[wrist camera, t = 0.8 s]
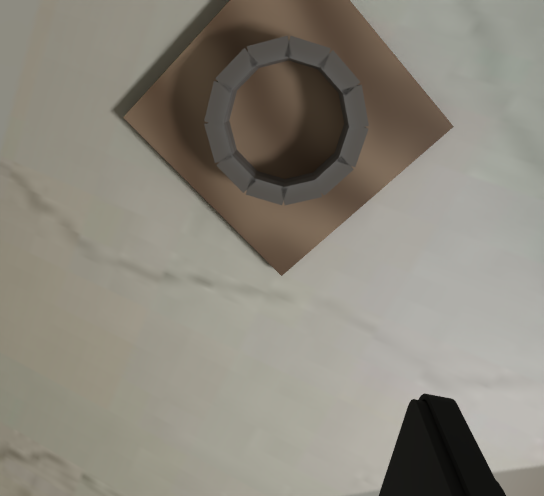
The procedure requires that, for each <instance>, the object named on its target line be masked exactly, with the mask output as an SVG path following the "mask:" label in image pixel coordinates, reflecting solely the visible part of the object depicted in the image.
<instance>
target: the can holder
mask: <svg viewBox="0 0 544 496" xmlns="http://www.w3.org/2000/svg"><path fill="white" fill-rule="evenodd" d="M123 118H124V119H125V120H126V121H127V122H128V123H129V124H130V125H131V126H132V127H133V128H134V129H135V130H136V131H137V132H138V133H139V134H140V135H141V136H142V137H143V138H144V139H145V140H146V141H147V142H148V143H149V144H150V145H151V146H152V147H153V148H154V149H155V150H156V151H157V152H158V153H159V154H160V155H161V156H162V157H163V158H164V159H165V160H166V161H167V162H168V163H169V164H170V165H171V166H172V167H173V168H174V169H175V170H176V171H177V172H178V173H179V174H180V175H181V176H182V177H183V178H184V179H185V180H186V181H187V182H188V183H189V184H190V185H191V186H192V187H193V188H194V189H195V190H196V191H197V192H198V193H199V194H200V195H201V196H202V197H203V198H204V199H205V200H206V201H207V202H208V203H209V204H210V205H211V206H212V207H213V208H214V209H215V210H216V211H217V212H218V213H219V214H220V215H221V216H222V217H223V218H224V219H225V220H226V221H227V222H228V223H229V224H230V225H231V226H232V227H233V228H234V229H235V230H236V231H237V232H238V233H239V234H240V235H241V236H242V237H243V238H244V239H245V240H246V241H247V242H248V243H249V244H250V245H251V246H252V247H253V248H254V249H255V250H256V251H257V252H258V253H259V254H260V255H261V256H262V257H263V258H264V259H265V260H266V261H267V262H268V263H269V264H270V265H271V266H272V267H273V268H274V269H275V270H276V271H277V272H278V273H279V274H280V275H281V276H282V275H283V274H284V273H286V272H287V271H288V270H289V269H290V268H291V267H292V266H294V265H295V264H296V263H297V262H298V261H299V260H300V259H302V258H303V257H304V256H305V255H306V254H307V253H309V252H310V251H311V250H312V249H313V248H314V247H315V246H317V245H318V244H319V243H320V242H321V241H322V240H324V239H325V238H326V237H327V236H328V235H329V234H330V233H332V232H333V231H334V230H335V229H336V228H337V227H338V226H340V225H341V224H342V223H343V222H344V221H345V220H347V219H348V218H349V217H350V216H351V215H352V214H353V213H355V212H356V211H357V210H358V209H359V208H360V207H362V206H363V205H364V204H365V203H366V202H367V201H368V200H370V199H371V198H372V197H373V196H374V195H375V194H376V193H378V192H379V191H380V190H381V189H382V188H383V187H385V186H386V185H387V184H388V183H389V182H390V181H391V180H393V179H394V178H395V177H396V176H397V175H398V174H400V173H401V172H402V171H403V170H404V169H405V168H406V167H408V166H409V165H410V164H411V163H412V162H413V161H415V160H416V159H417V158H418V157H419V156H420V155H421V154H423V153H424V152H425V151H426V150H427V149H428V148H429V147H431V146H432V145H433V144H434V143H435V142H436V141H438V140H439V139H440V138H441V137H442V136H443V135H444V134H446V133H447V132H448V131H449V130H450V129H451V128H453V125H452V124H451V123H450V122H449V120H448V119H447V118H446V117H445V116H444V114H443V113H442V112H441V111H440V110H439V108H438V107H437V106H436V105H435V103H434V102H433V101H432V100H431V99H430V97H429V96H428V95H427V94H426V92H425V91H424V90H423V89H422V88H421V86H420V85H419V84H418V83H417V82H416V80H415V79H414V78H413V77H412V75H411V74H410V73H409V72H408V71H407V69H406V68H405V67H404V66H403V65H402V63H401V62H400V61H399V60H398V58H397V57H396V56H395V55H394V54H393V52H392V51H391V50H390V49H389V48H388V46H387V45H386V44H385V43H384V41H383V40H382V39H381V38H380V37H379V35H378V34H377V33H376V32H375V30H374V29H373V28H372V27H371V26H370V24H369V23H368V22H367V21H366V20H365V18H364V17H363V16H362V15H361V13H360V12H359V11H358V10H357V9H356V7H355V6H354V5H353V4H352V3H351V1H350V0H230V1H229V2H228V3H227V4H226V5H225V6H224V7H223V8H222V9H221V11H220V12H219V13H218V14H217V15H216V16H215V17H214V18H213V19H212V20H211V22H210V23H209V24H208V25H207V26H206V27H205V28H204V29H203V30H202V31H201V33H200V34H199V35H198V36H197V37H196V38H195V39H194V40H193V41H192V42H191V43H190V45H189V46H188V47H187V48H186V49H185V50H184V51H183V52H182V53H181V54H180V56H179V57H178V58H177V59H176V60H175V61H174V62H173V63H172V64H171V65H170V66H169V68H168V69H167V70H166V71H165V72H164V73H163V74H162V75H161V76H160V77H159V79H158V80H157V81H156V82H155V83H154V84H153V85H152V86H151V87H150V88H149V89H148V91H147V92H146V93H145V94H144V95H143V96H142V97H141V98H140V99H139V100H138V102H137V103H136V104H135V105H134V106H133V107H132V108H131V109H130V110H129V111H128V112H127V114H126V115H125V116H124V117H123Z"/></svg>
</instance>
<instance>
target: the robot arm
mask: <svg viewBox="0 0 544 496" xmlns="http://www.w3.org/2000/svg"><path fill="white" fill-rule="evenodd" d="M379 496H506V495H505V493H504V491H503V489H502V488H501V486H500V485H499V483H498V482H497V481H496V480H495V478H494V476H493V474H492V472H491V470H490V468H489V466H488V464H487V462H486V460H485V458H484V456H483V454H482V452H481V450H480V448H479V446H478V444H477V442H476V441H475V439H474V437H473V435H472V433H471V431H470V429H469V427H468V425H467V423H466V421H465V419H464V417H463V415H462V413H461V411H460V409H459V407H458V405H457V403H456V402H455V400H453V399H450V398H445V397H440V396H434V395H429V394H423V395H421V397H420V398H419V400H415V399H413V400H411V401H410V403H409V405H408V408H407V411H406V414H405V417H404V420H403V423H402V427H401V430H400V433H399V436H398V439H397V442H396V445H395V448H394V451H393V454H392V457H391V460H390V463H389V466H388V469H387V472H386V475H385V478H384V481H383V484H382V487H381V490H380V494H379Z"/></svg>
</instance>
